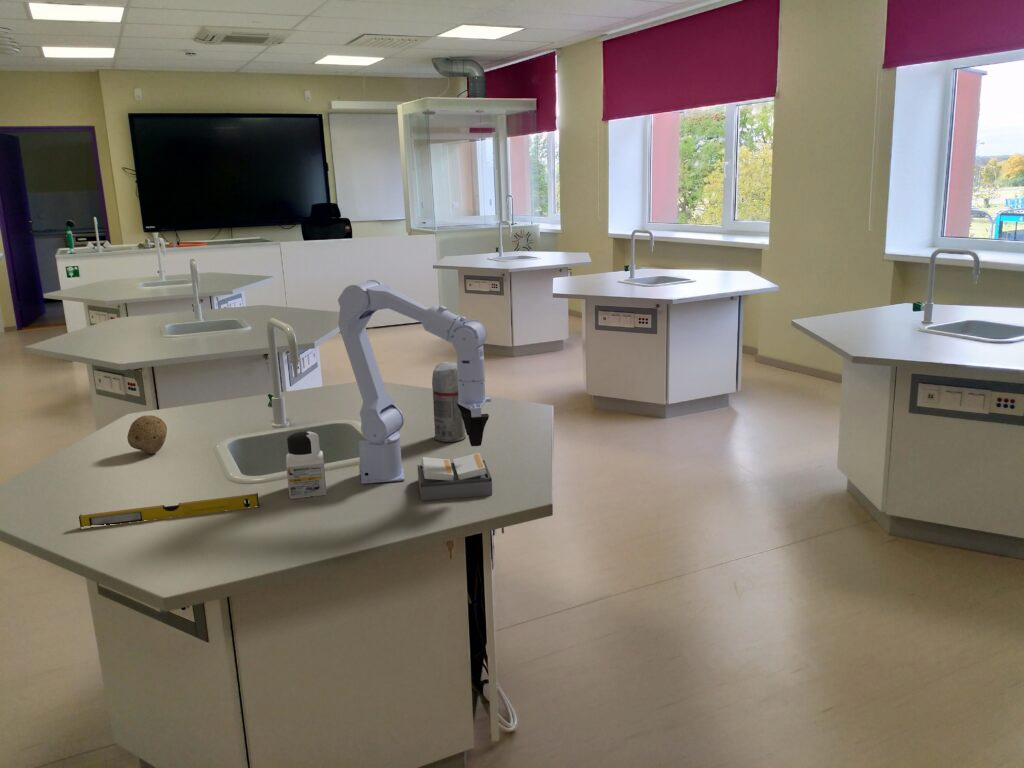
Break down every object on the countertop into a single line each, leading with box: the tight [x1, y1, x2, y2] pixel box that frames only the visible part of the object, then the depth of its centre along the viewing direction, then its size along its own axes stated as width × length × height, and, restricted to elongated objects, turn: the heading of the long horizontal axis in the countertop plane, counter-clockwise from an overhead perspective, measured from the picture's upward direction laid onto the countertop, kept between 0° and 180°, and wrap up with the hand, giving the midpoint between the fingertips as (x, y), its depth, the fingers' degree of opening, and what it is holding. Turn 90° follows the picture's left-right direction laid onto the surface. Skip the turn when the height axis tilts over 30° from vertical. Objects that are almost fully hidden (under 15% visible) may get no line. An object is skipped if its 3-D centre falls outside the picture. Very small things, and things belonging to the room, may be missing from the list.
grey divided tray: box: [416, 459, 493, 502], centre depth 172 cm, size 15×12×4 cm
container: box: [285, 430, 328, 500], centre depth 171 cm, size 8×8×13 cm
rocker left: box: [421, 456, 454, 481], centre depth 171 cm, size 6×10×2 cm, turn 10°
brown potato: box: [126, 414, 168, 455], centre depth 197 cm, size 9×9×10 cm
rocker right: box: [452, 452, 487, 480], centre depth 172 cm, size 6×10×2 cm, turn 9°
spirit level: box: [78, 492, 260, 528], centre depth 160 cm, size 33×1×3 cm, turn 107°
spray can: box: [431, 361, 467, 443], centre depth 203 cm, size 8×8×20 cm
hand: (473, 440), depth 171 cm, fingers open, 7 cm apart
